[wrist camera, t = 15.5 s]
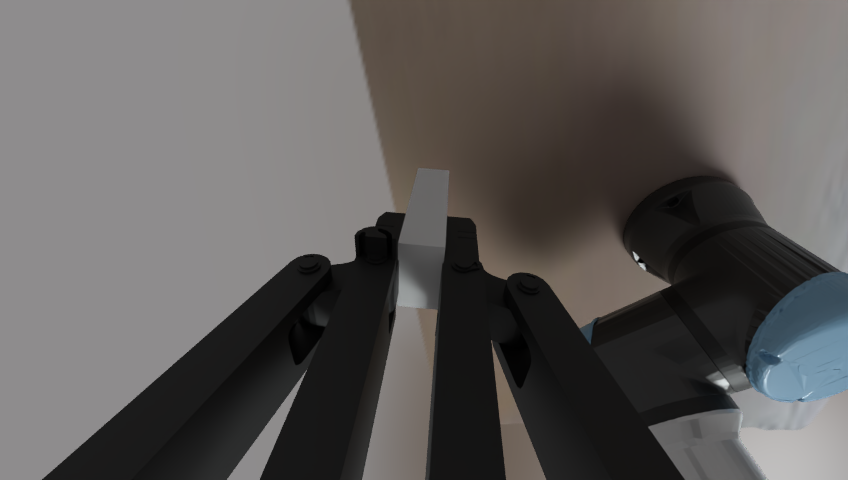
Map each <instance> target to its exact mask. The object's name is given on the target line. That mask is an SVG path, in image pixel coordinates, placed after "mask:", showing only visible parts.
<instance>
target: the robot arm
mask: <svg viewBox="0 0 848 480" xmlns="http://www.w3.org/2000/svg"><path fill="white" fill-rule="evenodd" d="M448 186H449V170H438V169H426V168H418V171H417V175H416V178H415V182H414V186H413V190H412V193H411V197H410V201H409V204H408V208H407V212H406V214H404V213H393V212H385V213H384V214H383V215H381V216H380V217H379V218H378V220H377V223H376V226H375V227H374V226H373V227H368V228H363V229H362V230H360V231H358V232H357V233H356V234H355V247H356V258H355V260H354V261H352V262H349V263H344V264H336V265H331V263H330V261H329V259H328V258H327V257H325V256H322V255H318V254H308V255H303V256H300V257H297V258H296V259H294V260H293V261H291V262H290V263H289V264H288V265H286V266H285V267H284V268H283V269H282V270H281V271H280V272H279V273H277V274H276V275H275V276H274V277H273V278H272V279H270V280H269V281H268V282H267V283H266V284H265V285H264V286H262V287H261V288H260V289H259V290H258V291H257V292H256V293H254V295H252V296H251V297H250V298H249V299H248V300H246V301H245V302H244V303H243V304H242V305H241V306H240V307H239V308H238V309H236V310H235V311H234V312H233V313H232V314H231V315H229V316H228V317H227V318H226V319H225V320H224V321H223V322H221V323H220V324H219V325H218V326H217V327H216V328H215V329H213V330H212V331H211V332H210V333H209V334H208V335H207V336H205V337H204V338H203V339H202V340H201V341H200V342H199V343H197V344H196V345H195V346H194V347H193V348H192V349H191V350H189V352H187V353H186V354H185V355H184V356H183V357H181V358H180V359H179V360H178V361H177V362H176V363H175V364H173V365H172V366H171V367H170V368H169V369H168V370H167V371H165V372H164V373H163V374H162V375H161V376H160V377H159V378H157V379H156V380H155V381H154V382H153V383H152V384H151V385H149V386H148V387H147V388H146V389H145V390H144V391H143V392H141V393H140V394H139V395H138V396H137V397H136V398H135V399H133V401H131V402H130V403H129V404H128V405H127V406H126V407H124V408H123V409H122V410H121V411H120V412H119V413H118V414H116V415H115V416H114V417H113V418H112V419H111V420H110V421H108V422H107V423H106V424H105V425H104V426H103V427H102V428H101V429H99V430H98V431H97V432H96V433H95V434H94V435H92V436H91V437H90V438H89V439H88V440H87V441H86V442H85V443H83V444H82V445H81V446H80V447H79V448H78V449H77V450H75V451H74V452H73V453H72V454H71V455H70V456H68V457H67V458H66V459H65V460H64V461H63V462H62V463H61V464H59V465H58V466H57V467H56V468H55V469H54V470H53V471H51V472H50V473H49V474H48V475H47V476H46V477H44V479H42V480H227V478H228V477H229V476H230V474H231V473H232V472H233V470H234V469H235V467H236V466H237V465H238V463H239V462H240V460H241V459H242V458H243V456H244V455H245V454H246V452H247V451H248V450H249V448H250V447H251V445H252V444H253V443H254V441H255V440H256V439H257V437H258V436H259V434H260V433H261V432H262V430H263V429H264V428H265V426H266V425H267V423H268V422H269V421H270V419H271V418H272V417H273V415H274V414H275V413H276V411H277V410H278V408H279V407H280V406H281V404H282V403H283V402H284V400H285V399H286V397H287V396H288V395H289V393H290V392H291V390H292V389H293V388H294V386H295V385H296V384H297V382H298V381H299V380H300V378H301V377H302V375H303V374H304V373H305V371H306V370H307V372H306V374H305V376H304V378H303V381H302V383H301V385H300V388H299V390H298V392H297V395H296V397H295V399H294V401H293V404H292V407H291V408H290V411H289V413H288V415H287V418H286V420H285V422H284V425H283V427H282V429H281V432H280V434H279V436H278V439H277V441H276V443H275V445H274V448H273V450H272V452H271V455H270V457H269V459H268V462H267V464H266V466H265V469H264V471H263V473H262V476H261V478H260V480H362V477H363V472H364V466H365V462H366V457H367V452H368V448H369V442H370V438H371V433H372V428H373V423H374V418H375V414H376V409H377V404H378V399H379V394H380V389H381V385H382V380H383V375H384V370H385V365H386V360H387V356H388V351H389V346H390V341H391V336H392V331H393V327H394V322H395V316H396V310H395V309H396V302H397V305H398V306H407V307H416V308H426V309H436V310H438V313H437V323H436V332H435V336H436V338H435V352H434V366H433V380H432V394H431V408H430V421H429V436H428V450H427V464H426V477H425V480H506V476H505V466H504V457H503V447H502V439H501V428H500V419H499V410H498V400H497V391H496V381H495V372H494V362H493V353H492V344H491V340H492V343H493V347H494V349H495V352H496V354H497V357H498V359H499V362H500V364H501V367H502V369H503V372H504V374H505V377H506V379H507V382H508V384H509V387H510V389H511V392H512V394H513V397H514V399H515V402H516V404H517V407H518V409H519V412H520V414H521V417H522V419H523V422H524V424H525V427H526V429H527V432H528V434H529V437H530V439H531V442H532V444H533V447H534V449H535V452H536V454H537V457H538V460H539V462H540V465H541V467H542V469H543V472H544V475H545V477H546V480H768V479H767V478H766V476H765V475H764V473H763V472H762V470H761V469H760V468H759V466H758V465H757V463H756V462H755V460H754V459H753V458H752V456H751V455H750V453H749V452H748V450H747V449H746V447H745V446H744V445H743V443H742V441H741V439H740V436H739V433H740V429H741V424H742V419H743V413H742V411H741V410H740V409H739V407H738V406H737V405H736V403H735V402H734V401H733V399H732V398H731V397H730V394H732V393H735V392H739V391H742V390H746V389H749V388H752V387H754V389H755V390H756V391H758V392H760V393H762V394H764V395H765V396H767V397H769V398H771V399H773V400H777V401H781V402H794V401H796V400H798V401H801V402H808V401H814V400H819V399H822V398H826V397H830V396H832V395H835V394H838V393H840V392H843V391H845V390H847V389H848V274H847V273H845V272H841V271H840V270H838V269H837V268H835V267H833V266H832V265H830V264H829V263H827V262H825V261H824V260H822V259H821V258H819V257H817V256H816V255H814V254H813V253H811V252H809V251H808V250H806V249H805V248H803V247H802V246H800V245H798V244H797V243H795V242H794V241H792V240H790V239H789V238H787V237H786V236H784V235H782V234H781V233H779V232H777V231H776V230H774V229H773V228H771V227H770V226H768V225H767V223H766V222H765V220H764V218H763V217H762V215H761V214H760V212H759V211H758V209H757V208H756V206H755V205H754V202H753V200H752V199H751V197H750V196H749V195H748V194H747V193H746V192H745V191H743V190H742V189H740V188H739V187H737V186H735V185H734V184H732V183H730V182H728V181H726V180H724V179H720V178H716V177H708V176H700V177H691V178H686V179H682V180H679V181H676V182H673V183H671V184H668V185H666V186H664V187H662V188H660V189H659V190H657V191H655V192H654V193H652V194H651V195H650V196H648V197H647V198H646V199H645V200H644V201H642V202H641V203H640V204H639V206H638V207H637V208H636V209H635V210H634V212H633V213H632V214H631V216H630V218H629V220H628V222H627V224H626V227H625V231H624V244H625V247H626V250H627V252H628V253H629V255H630V256H631V257H632V259H633V260H634V261H635V262H636V263H637V264H638V265H639V266H640V267H641V268H642V269H644V270H645V271H647V272H649V273H651V274H653V275H654V276H656V277H658V278H660V279H662V280H663V281H665V282H667V283H669V284H671V286H670V287H668V288H665V289H663V290H661V291H658V292H656V293H654V294H652V295H650V296H647V297H645V298H643V299H641V300H639V301H637V302H634V303H632V304H630V305H628V306H625V307H623V308H621V309H619V310H616V311H614V312H612V313H610V314H607V315H605V316H603V317H597V318H595V319H594V320H593V321H592V322H591V323H589V324H587V325H585V326H583V327H582V328H580V329H579V328H578V326H577V325H576V323H575V322H574V320H573V319H572V318H571V316H570V315H569V313H568V312H567V310H566V309H565V308H564V306H563V305H562V303H561V302H560V300H559V299H558V298H557V296H556V295H555V293H554V292H553V290H552V289H551V288H550V286H549V285H548V284H547V283H546V282H545V281H544V280H543V279H541V278H540V277H538V276H536V275H533V274H529V273H515V274H512V275H511V276H509V277H508V279H507V280H504V279H501V278H498V277H495V276H493V275H491V274H489V273H487V272H486V271H485V270H484V268H483V266H482V263H481V262H480V261H479V254H478V244H477V234H476V225H475V224H474V223H473V221H472V220H471V219H470V218H460V217H448V216H447V206H448ZM734 391H735V392H734Z"/></svg>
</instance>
